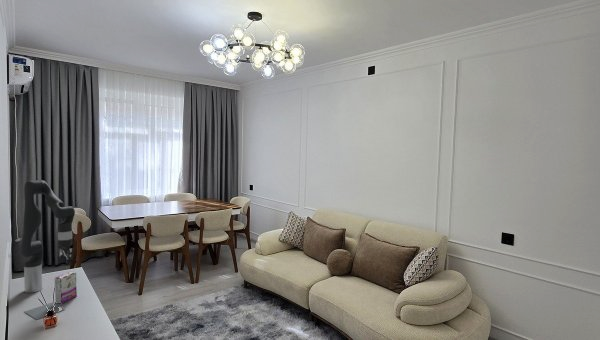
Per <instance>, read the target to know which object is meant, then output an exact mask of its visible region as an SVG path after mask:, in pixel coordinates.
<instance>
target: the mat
mask: <svg viewBox="0 0 600 340" xmlns="http://www.w3.org/2000/svg"><path fill="white" fill-rule="evenodd" d="M53 303H54V302H49V303H47V304H43V305H39V306H37V307H34V308H31V309H28V310H25V311H24V313H25V314H26V315H28V316H29V317H30V318H32V319H34V320H37V321H38V320H40V319H43V318H45V317H44V316H45V315H46V314H47V311H48V310H47V309H46V306H48V308H49V309H50V310H51V309H52V305H53ZM58 307H60V305H57V306H55V307H54V311H55V312H57V313H59V312H58V311H59V308H58ZM61 308H62V310H63V311H65V308H63V307H61Z"/></svg>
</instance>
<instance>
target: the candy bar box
mask: <svg viewBox="0 0 600 340" xmlns="http://www.w3.org/2000/svg"><path fill="white" fill-rule="evenodd" d="M54 293H55V296H54V297H55V299H54V301H55V303H56V302H57V303H56V304H59V303H62V304H64V303H67V302H68V301H70V300H73V299H75V298H76V297H77V293H78V292H77V272H76V271H68V272H65V273H63V274H61V275H58V276H55V277H54Z"/></svg>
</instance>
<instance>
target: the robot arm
mask: <svg viewBox="0 0 600 340" xmlns="http://www.w3.org/2000/svg"><path fill="white" fill-rule="evenodd" d="M23 190H24V191H23V192H24V193H23V194H24V211H23V230H22V237H21V243H20V248H19V249H20V255H21V256H22V257H23V258H29V257H30V258H29V259H27V260H26V261H25V262H23V269H24V270H23V273H24V275H23V277H24V279H23V280H24V293H25V292H26V293H25V294H27V293H28V294H32V293H36V292H39V291H41V290H43V269H42V268H43V264H42V263H43V258H44V245H43V242H41V240H34V241H33V238H34V235H35V233H36V232H37V231H38V229H39V227H40V226H41V224H42V218H43V214H42V211H41V209H40V208H39V207H38V205H37V204H36V202H35V197H34V196H35V195H41V194H42V195H44V197H45V198H44V202H45V204H46V206H48V208H50V209H51V210H52V213H53V215H54V217H55V218H56V219H59V220H61V219H64V220H63V221H61V222H59V223H58V224H57V232H58V233H57V255H58V257H59V262H60V263H64V262H65V259H66V265H67V266H71V265H72V259H74V248H71V246H72V245H73V230H72V229H73V221H74V218H75V215H76V210H75V208H74V207H73V206H70V205H69V206H65V203H64V202H63V200H61V199H60V198H59V197H57V195H56V194H55V193H54V191H53V190H52V188H51V187H50V185H49V184H48V183H47V182H46V181H45V180H43V179H42V180H41V179H37V180H33V179H32V180H27V181H26V182H25V183H24V187H23ZM65 257H66V258H65Z"/></svg>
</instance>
